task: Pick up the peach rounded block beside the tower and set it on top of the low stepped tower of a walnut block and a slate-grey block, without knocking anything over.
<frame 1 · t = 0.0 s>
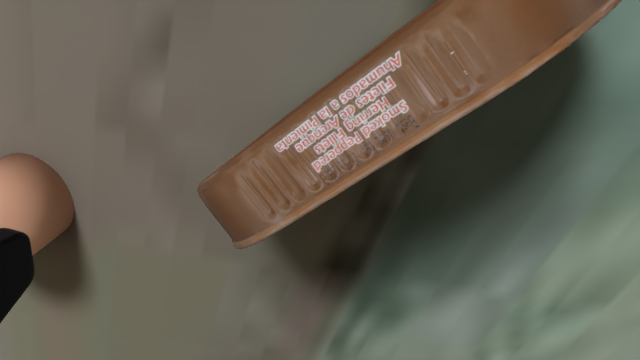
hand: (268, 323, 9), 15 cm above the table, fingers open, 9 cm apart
peach rounded block: (33, 195, 30), on the table
tin: (399, 61, 21), on the table
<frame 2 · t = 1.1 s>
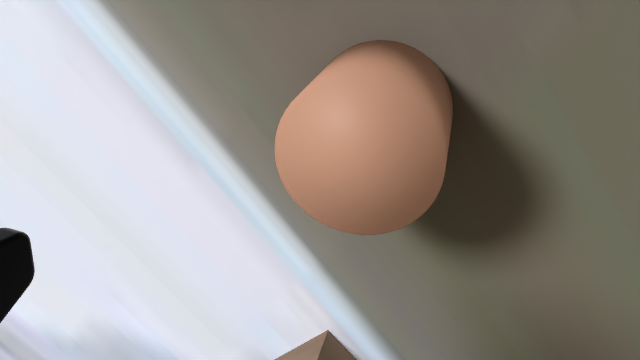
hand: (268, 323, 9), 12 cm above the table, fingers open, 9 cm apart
peach rounded block: (381, 110, 20), on the table
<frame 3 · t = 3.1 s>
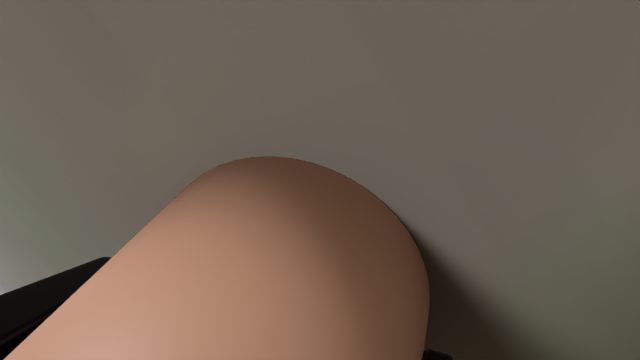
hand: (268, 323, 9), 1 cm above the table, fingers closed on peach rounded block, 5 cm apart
peach rounded block: (288, 284, 10), on the table, touching gripper
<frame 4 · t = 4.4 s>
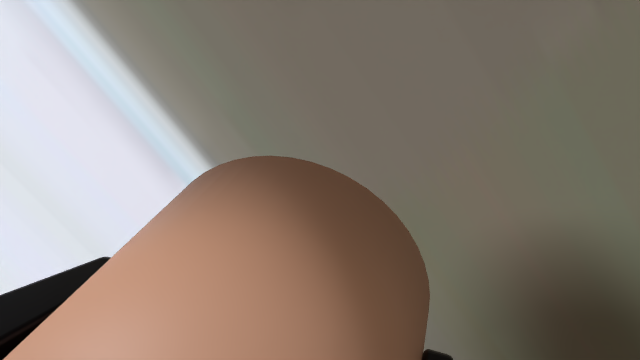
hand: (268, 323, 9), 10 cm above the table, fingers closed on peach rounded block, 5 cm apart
peach rounded block: (288, 283, 10), point 9 cm above the table, touching gripper
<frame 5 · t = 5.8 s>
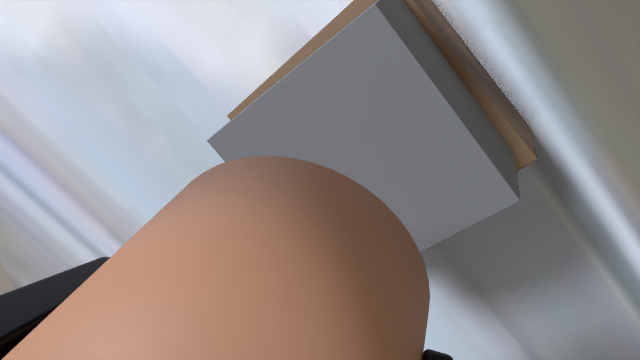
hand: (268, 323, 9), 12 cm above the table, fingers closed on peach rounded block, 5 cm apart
peach rounded block: (288, 283, 10), point 11 cm above the table, touching gripper
slate block: (374, 128, 17), point 3 cm above the table
walnut block: (387, 106, 20), on the table
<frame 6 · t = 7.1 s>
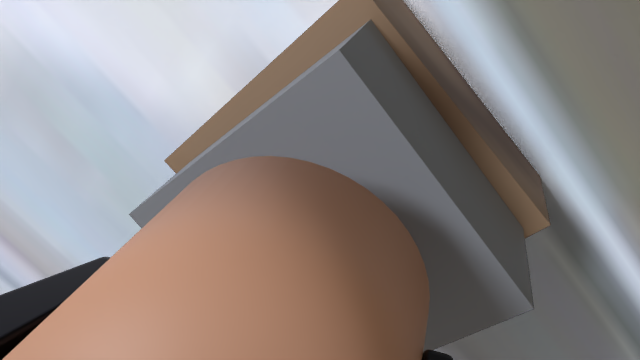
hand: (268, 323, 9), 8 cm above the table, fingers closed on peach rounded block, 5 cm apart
peach rounded block: (288, 284, 10), point 7 cm above the table, touching gripper
slate block: (348, 192, 14), point 3 cm above the table, touching walnut block
walnut block: (364, 145, 16), on the table, touching slate block
when the fingers open (8 cm above the table, at t = 7.7 s): peach rounded block drops 1 cm, point 6 cm above the table.
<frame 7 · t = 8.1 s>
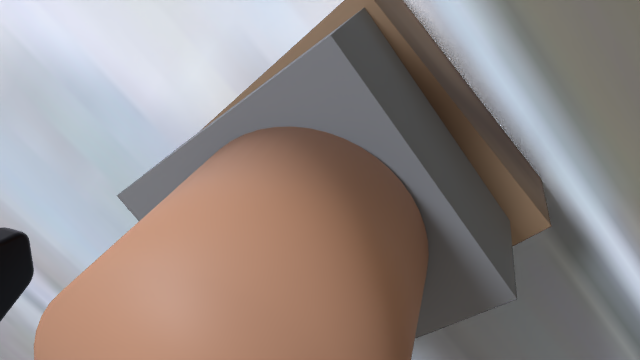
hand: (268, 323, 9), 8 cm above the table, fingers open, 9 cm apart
peach rounded block: (303, 242, 11), point 6 cm above the table
slate block: (337, 180, 14), point 3 cm above the table
walnut block: (366, 146, 16), on the table
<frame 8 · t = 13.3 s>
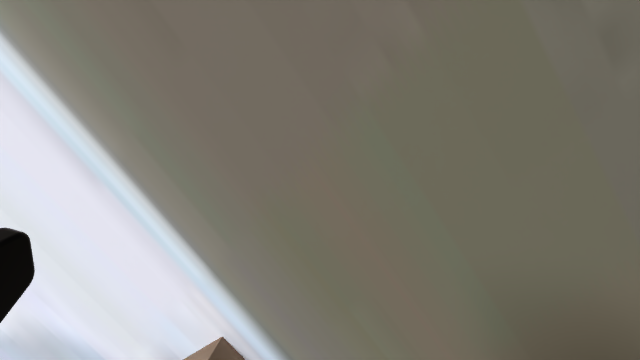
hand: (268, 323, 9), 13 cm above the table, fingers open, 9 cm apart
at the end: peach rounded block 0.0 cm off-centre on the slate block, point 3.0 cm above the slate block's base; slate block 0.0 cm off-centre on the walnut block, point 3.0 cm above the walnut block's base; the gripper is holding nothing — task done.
